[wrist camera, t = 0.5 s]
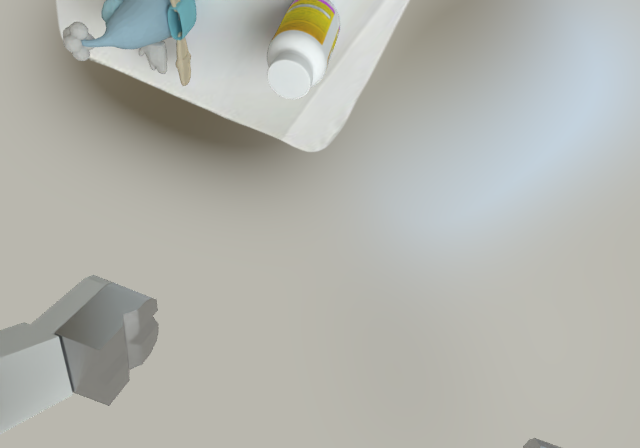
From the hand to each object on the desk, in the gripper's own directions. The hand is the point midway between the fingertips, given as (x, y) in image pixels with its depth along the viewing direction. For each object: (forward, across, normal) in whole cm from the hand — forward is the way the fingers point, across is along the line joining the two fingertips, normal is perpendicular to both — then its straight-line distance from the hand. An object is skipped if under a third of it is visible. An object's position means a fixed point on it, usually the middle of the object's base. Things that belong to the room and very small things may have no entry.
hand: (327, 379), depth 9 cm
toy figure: (+48, +35, +4) cm, 59 cm away
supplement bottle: (+50, +16, +3) cm, 53 cm away
